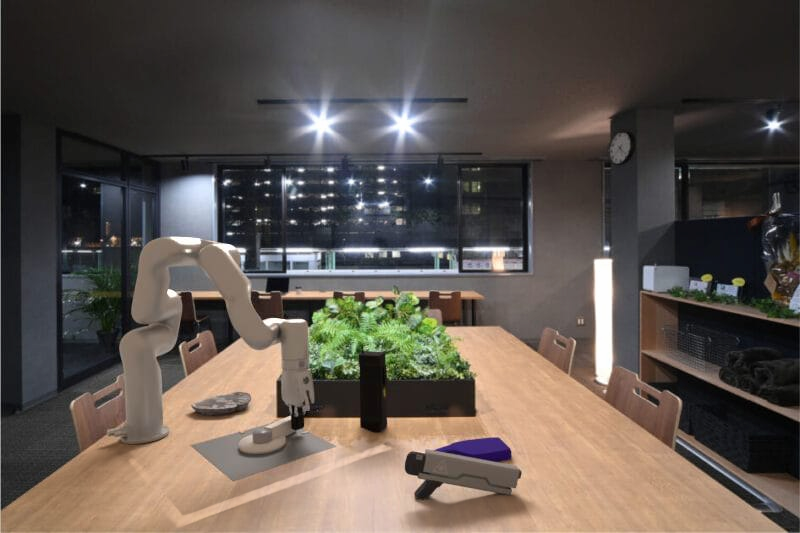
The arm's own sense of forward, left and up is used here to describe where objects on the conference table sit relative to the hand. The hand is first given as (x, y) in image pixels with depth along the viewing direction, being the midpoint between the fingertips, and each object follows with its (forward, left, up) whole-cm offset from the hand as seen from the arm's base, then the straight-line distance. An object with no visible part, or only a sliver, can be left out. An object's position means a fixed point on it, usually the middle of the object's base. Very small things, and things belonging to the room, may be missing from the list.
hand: (297, 428), depth 137 cm
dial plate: (-11, 0, -3) cm, 11 cm away
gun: (+10, -52, -4) cm, 53 cm away
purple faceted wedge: (+24, -39, -4) cm, 46 cm away
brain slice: (-4, +42, -4) cm, 42 cm away
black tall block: (+21, -8, -4) cm, 23 cm away
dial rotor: (-8, +1, -2) cm, 8 cm away
